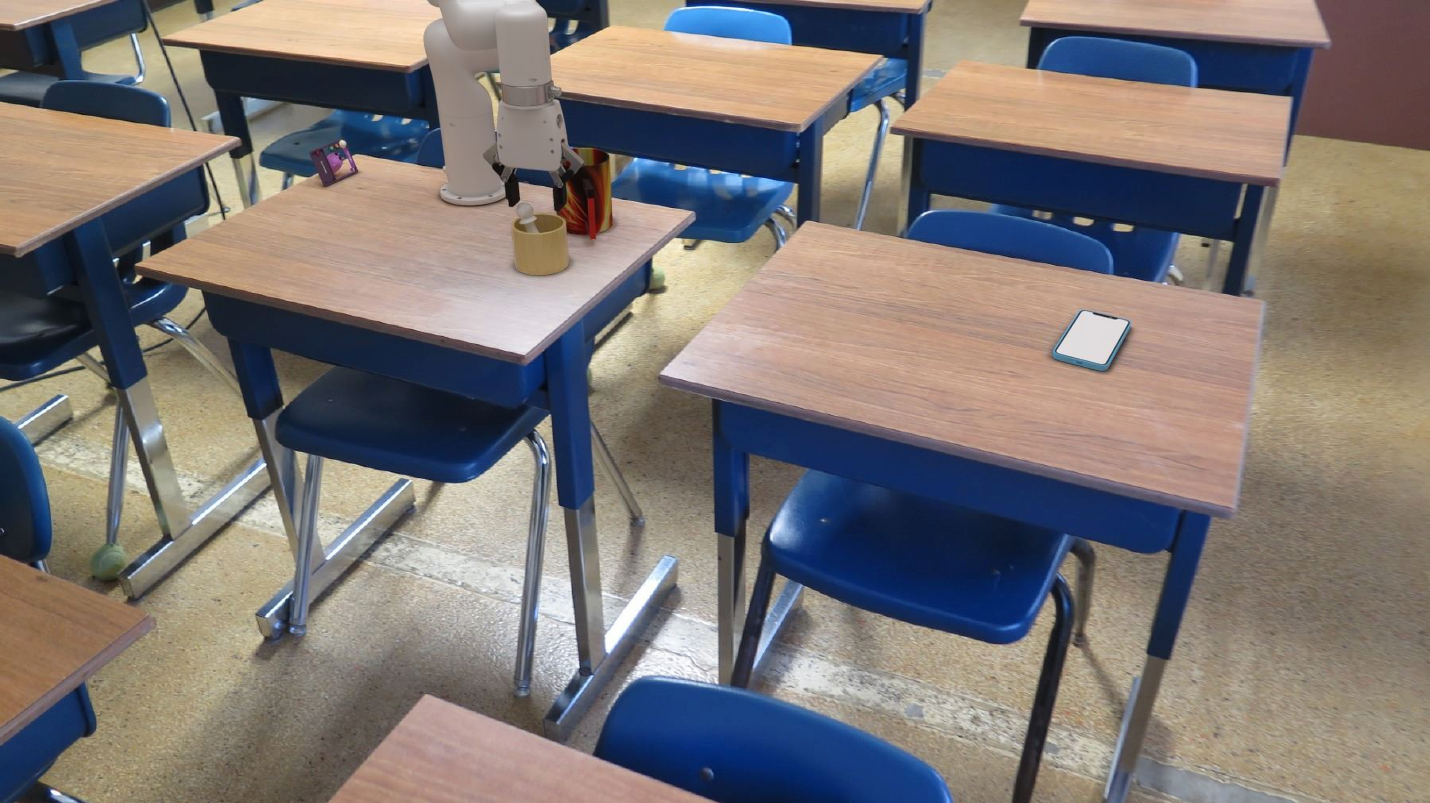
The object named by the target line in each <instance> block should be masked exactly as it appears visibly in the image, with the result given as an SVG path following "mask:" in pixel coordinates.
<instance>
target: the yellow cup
mask: <svg viewBox="0 0 1430 803" xmlns="http://www.w3.org/2000/svg"><path fill="white" fill-rule="evenodd" d="M533 216H535V217H536V218H537V219H536V220H535V221H534V224H535V226H536V228H537V230H538V232H539V233H526V228H525V225H524V224H522V225H521V224H520V221H521V219H520V218H519V217H517V218H515V219H513V220H512V221H511V225H510V229H511V230H510V231H511V241H512V248H513V249H512V251H513V261H514V267H515V270H517V271H518V272H520V273H522V274H525V275H530V276H548V275H553V274H556V273H557V274H558V273H560V272H562V271H564V270H565V269H567V267H568V266H569V264H570V256H569V255H570V254H569V243H568V233H567V226H566V220H565V219H564V218H562V217H560V216H558V215H557V214H555V213H554V214H553V213H545V212H542V213H541V212H539V213H533Z"/></svg>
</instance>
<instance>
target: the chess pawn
mask: <svg viewBox="0 0 1430 803" xmlns="http://www.w3.org/2000/svg"><path fill="white" fill-rule="evenodd" d="M534 212H535V210H534V206H533V205H532V204H531V203H530V202H528V201H523V202H520V203H517V206H516V207H515V214H516V216H517V218H520V219H521V221H520V224H521V225H522V224H524V225H525V228H526V233H539V232H538V230H537V228H536V226H535V224H534V221H535V220H536V219H537V218H536V217H535V216H533V214H535V213H534Z"/></svg>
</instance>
